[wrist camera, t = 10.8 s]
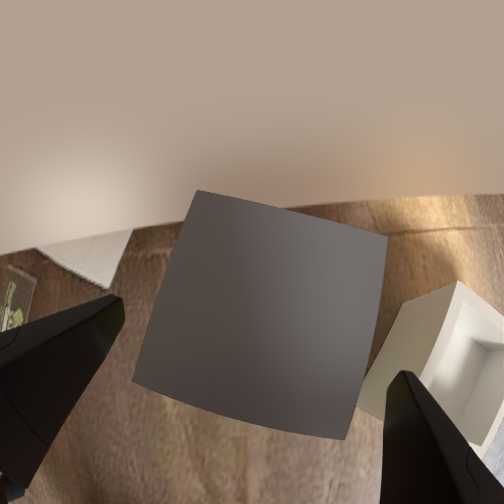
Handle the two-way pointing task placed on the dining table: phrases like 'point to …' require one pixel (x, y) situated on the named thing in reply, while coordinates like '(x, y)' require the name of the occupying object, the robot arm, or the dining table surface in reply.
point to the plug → (265, 316)
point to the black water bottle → (12, 489)
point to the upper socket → (446, 360)
